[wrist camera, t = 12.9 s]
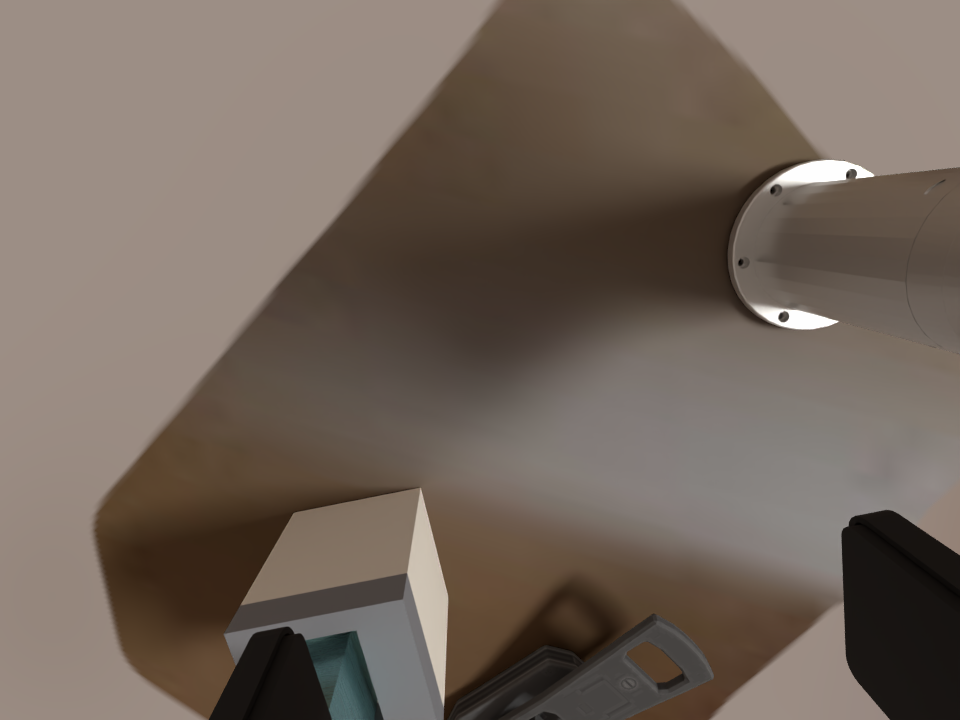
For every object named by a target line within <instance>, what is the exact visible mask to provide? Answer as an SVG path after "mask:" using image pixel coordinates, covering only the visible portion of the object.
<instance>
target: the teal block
mask: <svg viewBox="0 0 960 720" xmlns="http://www.w3.org/2000/svg"><path fill="white" fill-rule="evenodd" d="M305 641H306V644H307V647H308V650H309V653H310V656H311V659H312V662H313V665H314V667H315V670H316V673H317V676H318V679H319V682H320V685H321V688H322V691H323V694H324V697H325V700H326V703H327V706H328V709H329V712H330V715H331V718H332V720H374V717H375V712H376V706H377V700H378V699H377V696H376V693H375V690H374V686H373V683H372V680H371V677H370V673H369V670H368V667H367V664H366V660H365V657H364V654H363V651H362V647H361V644H360V641H359V638H358V634H357V631H356V630H355V631H350V632H345V633H340V634H334V635H329V636H324V637H319V638H314V639H309V640H305Z"/></svg>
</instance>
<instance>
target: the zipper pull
mask: <svg viewBox="0 0 960 720" xmlns="http://www.w3.org/2000/svg"><path fill="white" fill-rule="evenodd" d="M642 642H650V643H651V644H653V645H655V646H656V647H658V648H660V649H661V650H662V651H663V652H664V653H665V654H666V655H667V656H668V657H669V658H670V659H671V660H672V661H673V662H674V663H675V664H676V665H677V666H678V667H679V668H680V669H681V671H682V674H681V675H679V676H677V677H675V678H674V679H672V680H670V681H668V682H664V683H656V682H655V681H654V680H653V679H652V678H650V677H649V676H648V675H647V674H646V673H645V672H644V671H643V670H642V669H641V668H640V667H639V666H638V665H637V664H636V663H635V662H634V661H633V660H631V659H630V658H629V657H628V656H627V655H626V653H627V651H629V650H630V649H632V648H634V647H636V646H637V645H639V644H641V643H642ZM713 677H714V675H713V672H712V669H711V667H710V665H709V663H708V661H707V659H706V657H705V655H704V654H703V653H702V651H701V650H700V649H699V648H698V646H697V645H696V644H695V643H694V642H693V641H692V640H691V639H690V638H689V637H688V636H687V635H686V634H685V633H684V632H683V631H681V630H680V629H679V628H678V627H676V626H675V625H674V624H672V623H670V622H669V621H667V620H665V619H663V618H661V617H660V616H658V615H656V614H652V615H651V616H649V617H648V618H646V619H645V620H644V621H642V622H641V623H639V624H638V625H636V626H635V627H634V628H632V629H631V630H629V631H628V632H626V633H625V634H624V635H622V636H621V637H619V638H618V639H617V640H615V641H614V642H613V643H611V644H610V645H609V646H607V647H606V648H604V649H603V650H601V651H600V652H599V653H597V654H596V655H594V656H593V657H591V658H590V659H589V660H587V661H586V662H583V661H582V660H581V659H580V658H579V657H578V656H577V655H575V654H574V653H573V652H572V651H568V650H564V649H560V648H556V647H552V646H548V645H545V646H543V647H541V648H539V649H538V650H536V651H534V652H533V653H531V654H530V655H528V656H527V657H525V658H524V659H522V660H520V661H519V662H517V663H516V664H514V665H513V666H511V667H509V668H508V669H506V670H505V671H503V672H502V673H500V674H499V675H497V676H495V677H494V678H492V679H491V680H489V681H488V682H486V683H484V684H483V685H481V686H480V687H478V688H476V689H475V690H473V691H472V692H470V693H468V694H467V695H465V696H463V697H462V698H460V699H459V700H457V702H456V704H455V706H454V708H453V710H452V712H451V714H450V715H449V717H448V719H447V720H624V719H626V718H629V717H631V716H633V715H635V714H637V713H640V712H642V711H644V710H646V709H648V708H650V707H653V706H655V705H657V704H659V703H661V702H663V701H666V700H668V699H671V698H673V697H675V696H677V695H680V694H682V693H684V692H686V691H688V690H690V689H692V688H695V687H697V686H699V685H701V684H703V683H705V682H708V681H710V680H712V679H713Z"/></svg>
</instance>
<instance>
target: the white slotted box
mask: <svg viewBox="0 0 960 720" xmlns="http://www.w3.org/2000/svg"><path fill="white" fill-rule="evenodd" d="M447 616H448V594H447V590H446V586H445V582H444V578H443V574H442V570H441V566H440V562H439V558H438V554H437V550H436V546H435V542H434V539H433V535H432V531H431V527H430V523H429V519H428V515H427V511H426V507H425V503H424V499H423V495H422V491H421V488H416V489H411V490H406V491H401V492H396V493H391V494H386V495H381V496H376V497H370V498H365V499H360V500H355V501H350V502H345V503H340V504H335V505H330V506H325V507H320V508H315V509H310V510H305V511H300V512H295V513H293V515H292V517H291V518H290V520H289V522H288V524H287V525H286V527H285V529H284V531H283V532H282V534H281V536H280V538H279V539H278V541H277V543H276V544H275V546H274V548H273V550H272V551H271V553H270V555H269V557H268V558H267V560H266V562H265V564H264V565H263V567H262V569H261V570H260V572H259V574H258V576H257V577H256V579H255V581H254V583H253V584H252V586H251V588H250V590H249V591H248V593H247V595H246V596H245V598H244V600H243V602H242V603H241V605H240V607H239V609H238V610H237V612H236V614H235V616H234V617H233V619H232V621H231V622H230V624H229V626H228V628H227V629H226V631H225V633H224V636H225V638H226V641H227V644H228V646H229V649H230V652H231V654H232V657H233V659H234V662H235V665H237V663H238V661H239V659H240V657H241V655H242V653H243V651H244V649H245V647H246V645H247V644H248V642H249V640H250V638H251V637H252V635H253V634H254V633H256V632H260V631H265V630H271V629H276V628H281V627H286V626H287V627H290V628H291V629H292V630H293V632H294V634H297V633H301V634H302V635H303V636H304V638H305V640H309V639H314V638H319V637H324V636H329V635H334V634H340V633H345V632H350V631H355V630H356V631H357V634H358V638H359V641H360V644H361V647H362V651H363V654H364V657H365V660H366V664H367V667H368V670H369V673H370V677H371V680H372V683H373V686H374V690H375V693H376V696H377V699H378V700H377V706H376V712H375V717H374V720H444V694H445V668H446V642H447Z"/></svg>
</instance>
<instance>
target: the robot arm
mask: <svg viewBox="0 0 960 720" xmlns="http://www.w3.org/2000/svg"><path fill="white" fill-rule="evenodd" d="M845 175H846V176H845ZM771 188H772V193H770V189H771ZM739 260H741V263H740V264H739V265H738V261H739ZM728 270H729V274H730V278H731V282H732V285H733V287H734V289H735V291H736V293H737V295H738V297H739V298H740V300H741V301H742V302H743V304H744V305H745V306H746V307H747V308H748V309H749V310H750V311H751V312H752V313H754V314H755V315H756V316H757V317H759V318H761V319H763V320H765V321H766V322H768V323H770V324H773V325H776V326H779V327H782V328H788V329H793V330H813V329H818V328H823V327H828V326H830V325H833V324H835V323H838V322H842V323H846V324H850V325H853V326H857V327H861V328H864V329H868V330H872V331H875V332H879V333H883V334H887V335H890V336H894V337H898V338H901V339H905V340H909V341H912V342H916V343H920V344H924V345H927V346H931V347H935V348H939V349H942V350H946V351H949V352H953V353H957V354H960V167H957V168H947V169H938V170H929V171H919V172H910V173H901V174H891V175H881V176H875V175H874V174H873V173H871V172H870V171H868V170H866V169H864V168H863V167H861V166H860V165H857V164H854V163H851V162H847V161H845V160H835V159H822V160H813V161H808V162H803V163H799V164H796V165H793V166H791V167H788V168H786V169H783V170H781V171H780V172H778V173H777V174H775V175H773V176H772V177H770V178H769V179H767V180H766V181H765V182H764V183H763V184H762V185H761V186H759V187H758V188H757V189H756V190H755V191H754V192H753V193H752V195H751V196H750V197H749V199H748V200H747V201H746V202H745V204H744V205H743V207H742V209H741V210H740V212H739V214H738V216H737V218H736V220H735V222H734V225H733V228H732V231H731V234H730V239H729V246H728ZM779 314H780V316H779ZM778 316H779V317H778ZM842 563H843V590H844V618H845V645H846V659H847V663H848V666H849V668H850V670H851V672H852V674H853V676H854V677H855V679H856V680H857V681H858V683H859V684H860V685H861V686H862V687H863V689H864V690H865V691H866V692H867V693H868V694H869V696H870V697H871V698H872V699H873V700H874V701H875V703H876V704H877V705H878V706H879V707H880V709H881V710H882V711H883V712H884V713H885V714H886V715H887V717H888V718H889V719H890V720H960V555H958V554H957V553H955V552H954V551H952V550H951V549H949V548H948V547H946V546H945V545H944V544H942V543H940V542H939V541H938V540H936V539H934V538H933V537H931V536H930V535H929V534H927V533H926V532H924V531H923V530H921V529H920V528H918V527H917V526H915V525H914V524H912V523H911V522H909V521H908V520H907V519H905V518H904V517H902V516H901V515H899V514H898V513H896V512H894V511H891V510H884V511H879V512H874V513H868V514H863V515H858V516H854V517H852V518H851V520H850V521H849V527H846V528H844V529H843V531H842ZM209 720H332V718H331V715H330V712H329V709H328V706H327V703H326V700H325V697H324V694H323V691H322V688H321V685H320V682H319V679H318V676H317V673H316V670H315V667H314V665H313V662H312V659H311V656H310V653H309V650H308V647H307V644H306V641H305V638H304V636H303V635H302V634H301V633H297V634H294V632H293V630H292V629H291V628H290V627H287V626H286V627H281V628H276V629H271V630H265V631H260V632H256V633H254V634H253V635H252V637H251V638H250V640H249V642H248V644H247V645H246V647H245V649H244V651H243V653H242V655H241V657H240V659H239V661H238V663H237V665H236V667H235V669H234V671H233V673H232V675H231V677H230V679H229V681H228V683H227V685H226V687H225V689H224V691H223V693H222V695H221V697H220V699H219V701H218V703H217V705H216V706H215V708H214V710H213V712H212V714H211V716H210V718H209Z"/></svg>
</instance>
